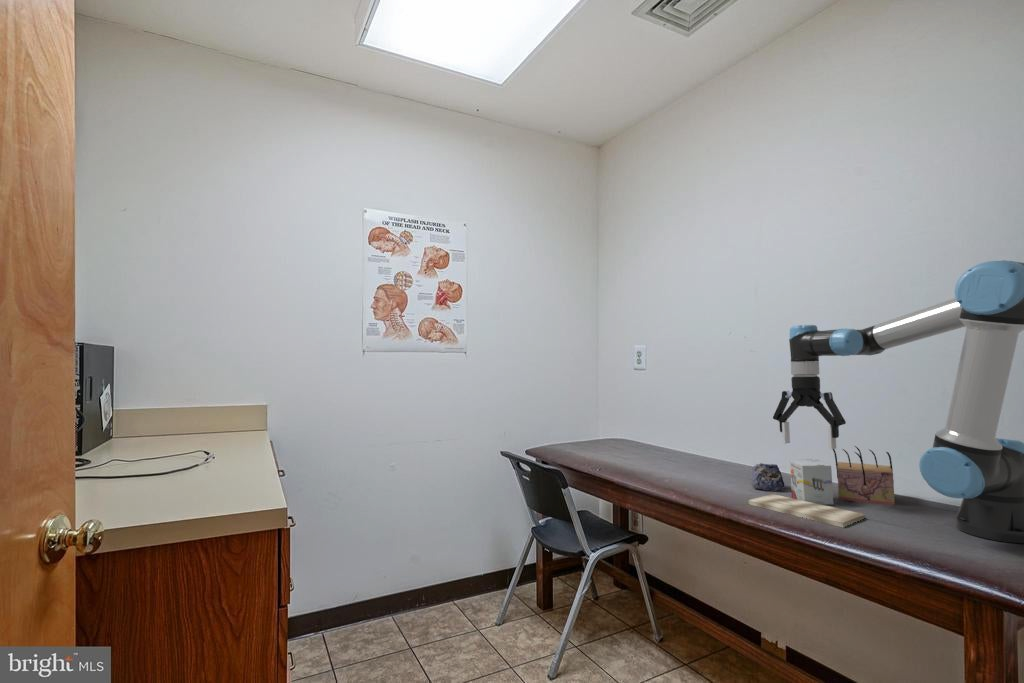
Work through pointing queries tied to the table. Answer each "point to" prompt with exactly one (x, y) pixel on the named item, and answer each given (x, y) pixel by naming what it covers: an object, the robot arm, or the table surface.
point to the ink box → (811, 481)
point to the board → (807, 510)
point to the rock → (767, 477)
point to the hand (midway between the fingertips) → (808, 445)
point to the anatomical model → (865, 481)
